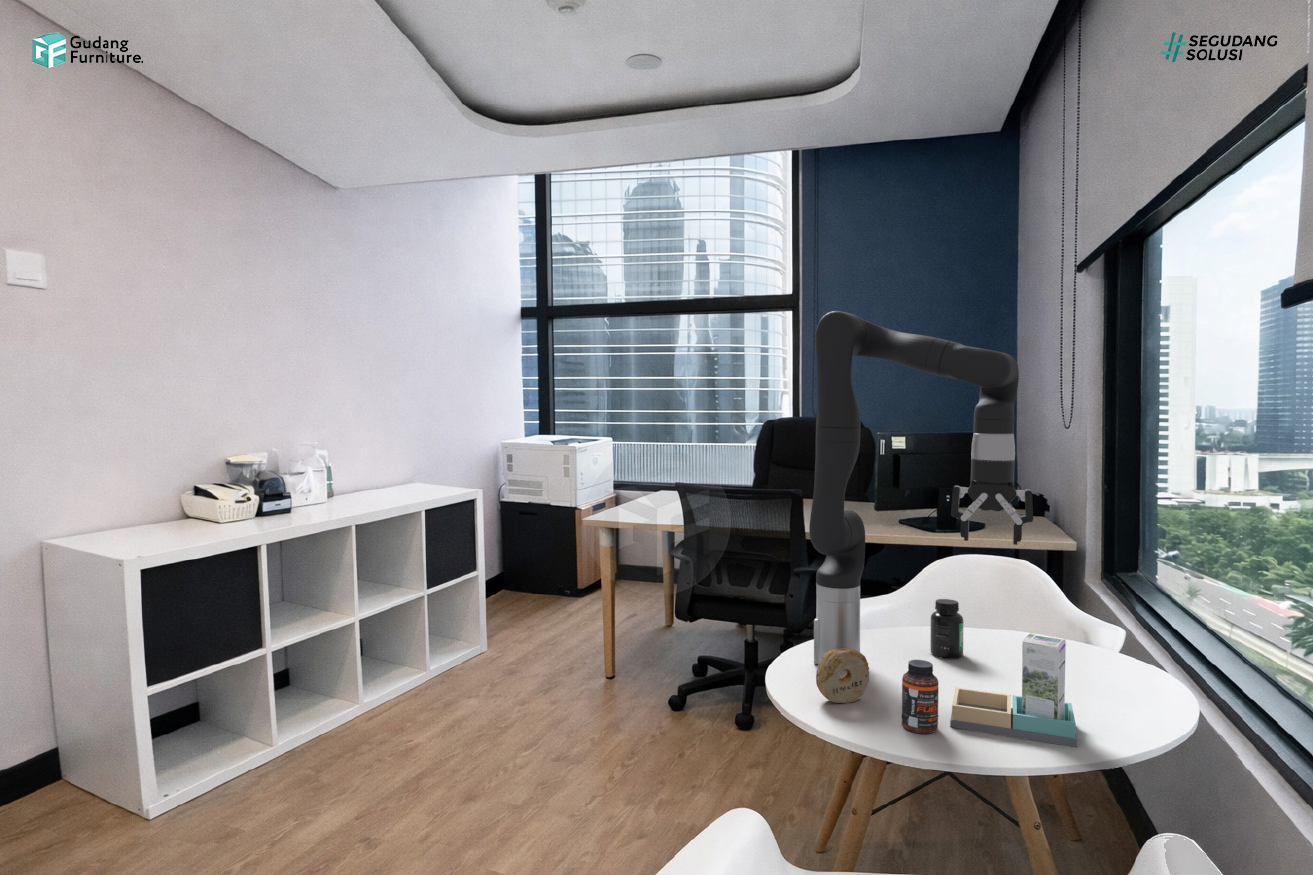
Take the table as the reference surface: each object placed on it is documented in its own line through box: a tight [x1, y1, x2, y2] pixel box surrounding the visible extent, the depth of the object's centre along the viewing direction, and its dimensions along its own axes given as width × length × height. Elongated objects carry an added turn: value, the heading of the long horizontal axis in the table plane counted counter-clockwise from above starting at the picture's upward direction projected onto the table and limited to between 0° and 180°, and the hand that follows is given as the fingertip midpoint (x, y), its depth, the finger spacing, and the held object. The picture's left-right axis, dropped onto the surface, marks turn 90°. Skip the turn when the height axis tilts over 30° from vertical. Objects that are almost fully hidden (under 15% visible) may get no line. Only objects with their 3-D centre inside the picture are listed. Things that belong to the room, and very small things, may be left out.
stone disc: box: [815, 648, 870, 704], centre depth 143 cm, size 10×4×10 cm, turn 106°
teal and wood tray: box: [949, 687, 1078, 748], centre depth 131 cm, size 19×10×4 cm, turn 65°
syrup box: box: [1021, 633, 1067, 720], centre depth 129 cm, size 6×6×14 cm
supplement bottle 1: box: [901, 659, 939, 735], centre depth 130 cm, size 6×6×11 cm
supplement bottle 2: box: [929, 598, 964, 660], centre depth 168 cm, size 7×7×12 cm
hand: (990, 542), depth 144 cm, fingers open, 8 cm apart
